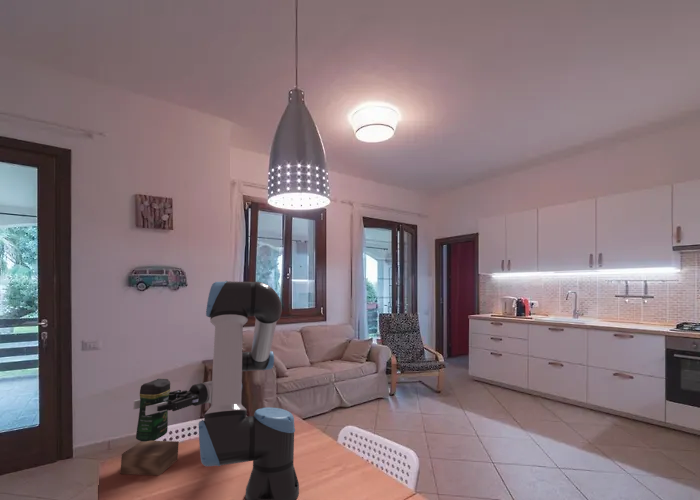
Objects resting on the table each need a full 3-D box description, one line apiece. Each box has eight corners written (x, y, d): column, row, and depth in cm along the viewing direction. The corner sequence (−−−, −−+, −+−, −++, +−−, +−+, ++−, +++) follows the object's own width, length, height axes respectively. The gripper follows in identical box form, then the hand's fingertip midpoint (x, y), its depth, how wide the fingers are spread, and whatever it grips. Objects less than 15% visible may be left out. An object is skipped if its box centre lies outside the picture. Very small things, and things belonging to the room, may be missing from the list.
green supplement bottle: (154, 443, 119) (157, 384, 121) (131, 442, 120) (135, 383, 122) (171, 432, 128) (175, 377, 130) (150, 430, 129) (154, 376, 131)
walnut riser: (177, 459, 128) (178, 441, 129) (159, 475, 117) (160, 455, 118) (141, 458, 129) (142, 440, 129) (120, 473, 118) (121, 454, 119)
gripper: (218, 409, 132) (153, 427, 115) (188, 398, 145) (125, 412, 128) (219, 387, 133) (155, 402, 115) (189, 378, 146) (127, 390, 129)
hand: (139, 407), depth 122 cm, fingers closed on green supplement bottle, 9 cm apart
